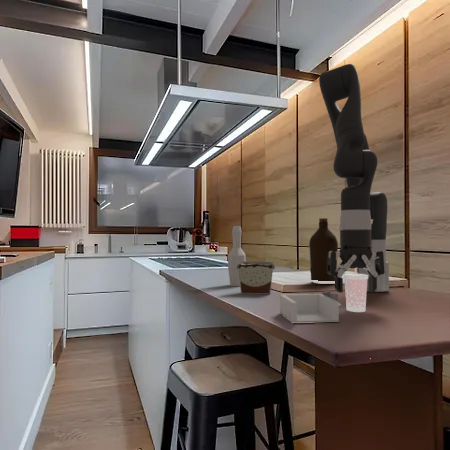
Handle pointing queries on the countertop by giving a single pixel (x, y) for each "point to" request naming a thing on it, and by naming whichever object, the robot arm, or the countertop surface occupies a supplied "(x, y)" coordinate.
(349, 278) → the beverage cup
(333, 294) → the clip
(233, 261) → the faceted bottle
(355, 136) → the robot arm
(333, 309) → the tray
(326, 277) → the olive oil
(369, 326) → the countertop surface
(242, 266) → the food container
